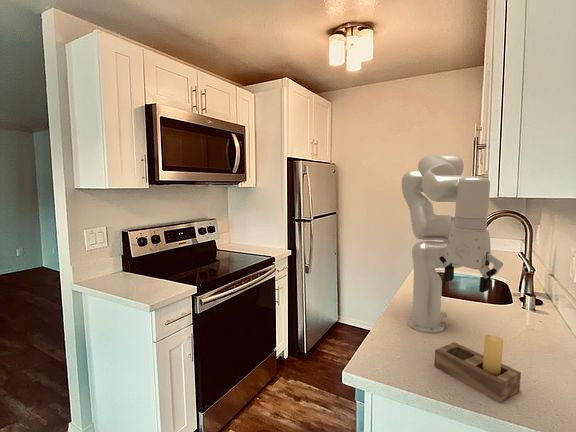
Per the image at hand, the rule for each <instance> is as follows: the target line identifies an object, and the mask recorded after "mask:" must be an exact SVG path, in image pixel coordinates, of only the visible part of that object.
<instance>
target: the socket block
mask: <svg viewBox="0 0 576 432" xmlns="http://www.w3.org/2000/svg"><path fill="white" fill-rule="evenodd" d="M433 364H434V367H435V368H437V369H438V370H440V371H442V372H443V373H445V374H446V375H449V376H451V377H453V378H455V379H457V380H458V381H460V382H462V383H463V384H466V385H467V386H469V387H470V388H473V389H474V390H477V392H480V393H482V394H483V395H484V396H485V395H486V397H489V398H491V399H492V400H495V401H497V402H498V403H502V402H503V400H504V401H505V400H507V399H508V398H510V397H512V396H514V395H516V394H517V393H518V392H520V386H521V375H522V372H521V371H519V370H517V369H515V368H512V367H510V366H508V365H505V364H503V363H501V374H500V375H499V376H497V377H496V376H494V375H492V374H490V373H488V372H486V371H484V370H482V367H483V354H481V353H479V352H477V351H475V350H473V349H470V348H468V347H466V346H463V345H461V344H459V343H457V342H456V341H454V342H451V343H449V344H446V345H445V346H441V347H438V348H436V349H435V350H434V363H433Z"/></svg>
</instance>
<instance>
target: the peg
mask: <svg viewBox="0 0 576 432" xmlns="http://www.w3.org/2000/svg"><path fill="white" fill-rule="evenodd" d="M483 342H484V344H483V354H482V355H483V367H482V370H484V371H486V372H488V373H490V374H492V375H494V376H496V377H497V376H499V375H500V374H501V364H502V362H503V361H502V360H503V358H502V357H503V349H504V340H503V339H502V338H501V337H499V336H497V335H493V334H487V335H484V341H483Z"/></svg>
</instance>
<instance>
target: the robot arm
mask: <svg viewBox="0 0 576 432" xmlns="http://www.w3.org/2000/svg"><path fill="white" fill-rule="evenodd" d="M464 168H465V167H464V160H463V159H462V158H461V157H460V156H459V155H457V154H429V155H426V156H423V157H422V158H421V159H420V160H419V162H418V164H417V169H416V170H410V171H408V172H405V173H404V174H403V175H402V178H401V191H402V196H403V198H404V200H405V202H406V204H407V207H408V209H409V216H410V223H411V227H412V234H413V235H414V237H415V238H416V239H417V240H420V241H419V242H416V243H415V244H414V245H413V246H412V249H411V255H412V257H411V258H412V263H413V266H412V267H413V285H412V287H413V288H412V307H411V308H412V312H411V314H412V315H411V316H410V317H409V318H408V319H407V322H406V323H407V325H408V326H409V327H410V328H411V329H413V330H415V331H418V332H421V333H426V334H437V333H442V332H444V330H445V324H444V323H443V322H442V319H444V318H446V317H448V314H447V313H446V312H445V311H443V312H441V309H442V307H441V306H442V290H443V288H442V287H443V281H442V277H441V276H440V275H439V273H438V272H437V271H436V269H444V273H443V276H444V282H451V281H453V280H454V274H455V269H460V268H462V267H464V268H468V269H472V270H478V271H479V273H480V274H481V277H479V278H480V279H479V288H478V289H479V290H478V291H479V292H480V293H485V292H488V291H489V290H490V287H491V278H492V277H494V276H495V275H497V274H499V271H501V269H502V268H503V267H504V263H503V262H502V261H501V260H499V259H498V258H496V257H495V256H494V255H493V254H491V253H492V252H491V251H492V250H491V236H490V235H491V234H490V231H489V230H488V229H487V224H488V217H489V203H490V190H491V181H490V179H489V178H487V177H482V176H475V175H463V172H464ZM423 193H424V194H425V195H423ZM431 201H433V202H436V203H455V209H454V211H455V212H454V216H452V215H444V214H440V215H439V214H436V213H435V212H434V206H433V204H432V203H433V202H431ZM490 264H492V265H493V267H492V269H491V268H490Z"/></svg>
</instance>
